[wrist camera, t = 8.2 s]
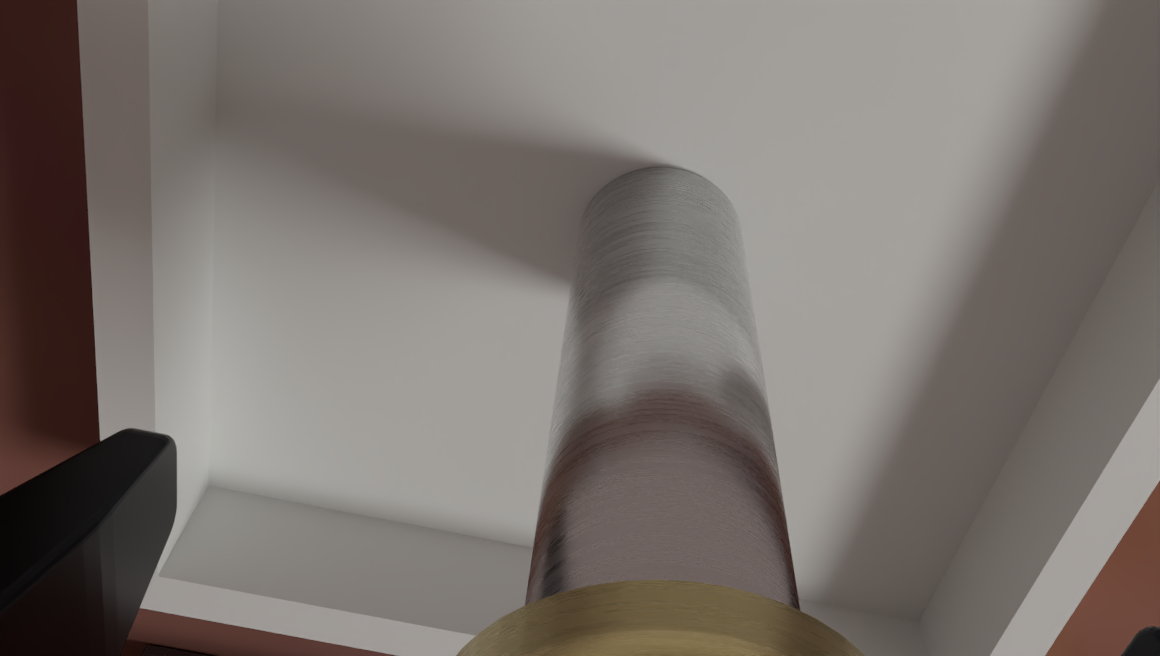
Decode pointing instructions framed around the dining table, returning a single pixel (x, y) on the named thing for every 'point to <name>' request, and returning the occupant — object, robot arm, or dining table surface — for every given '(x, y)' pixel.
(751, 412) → the pin
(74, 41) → the dining table surface
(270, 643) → the dining table surface
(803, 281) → the tray
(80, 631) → the robot arm
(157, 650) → the block
